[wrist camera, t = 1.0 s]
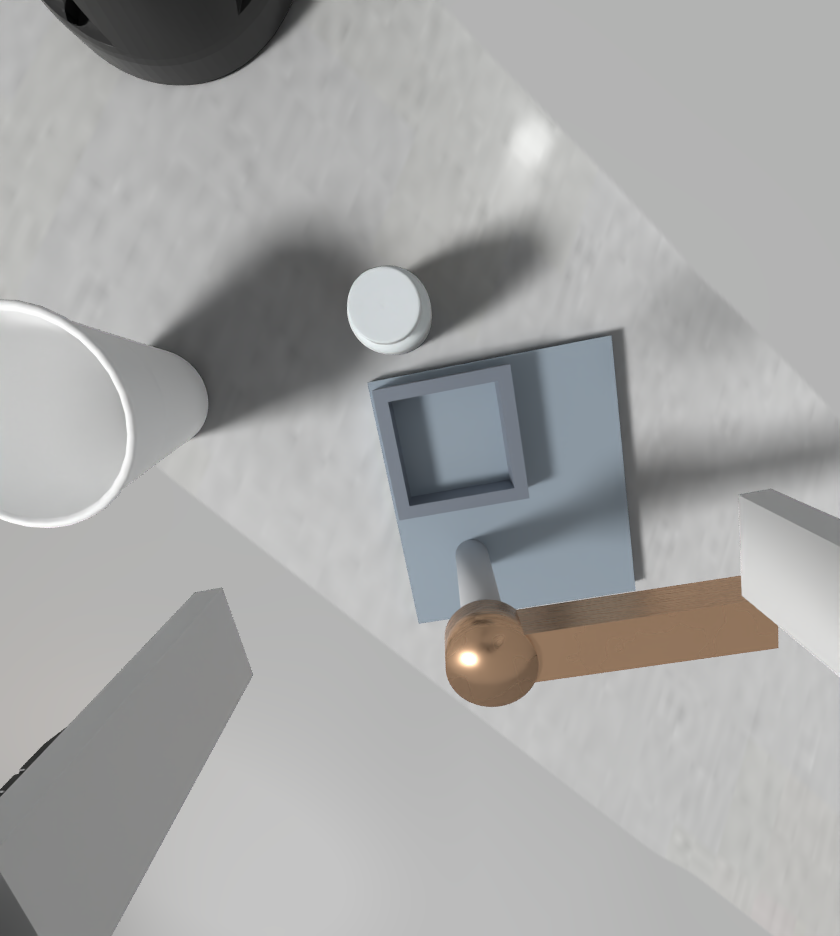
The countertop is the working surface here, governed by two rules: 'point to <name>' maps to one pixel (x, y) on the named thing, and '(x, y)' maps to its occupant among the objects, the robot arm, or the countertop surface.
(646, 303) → the countertop surface
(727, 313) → the countertop surface
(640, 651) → the lever
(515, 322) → the countertop surface
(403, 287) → the pill bottle
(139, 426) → the cup
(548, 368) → the board
